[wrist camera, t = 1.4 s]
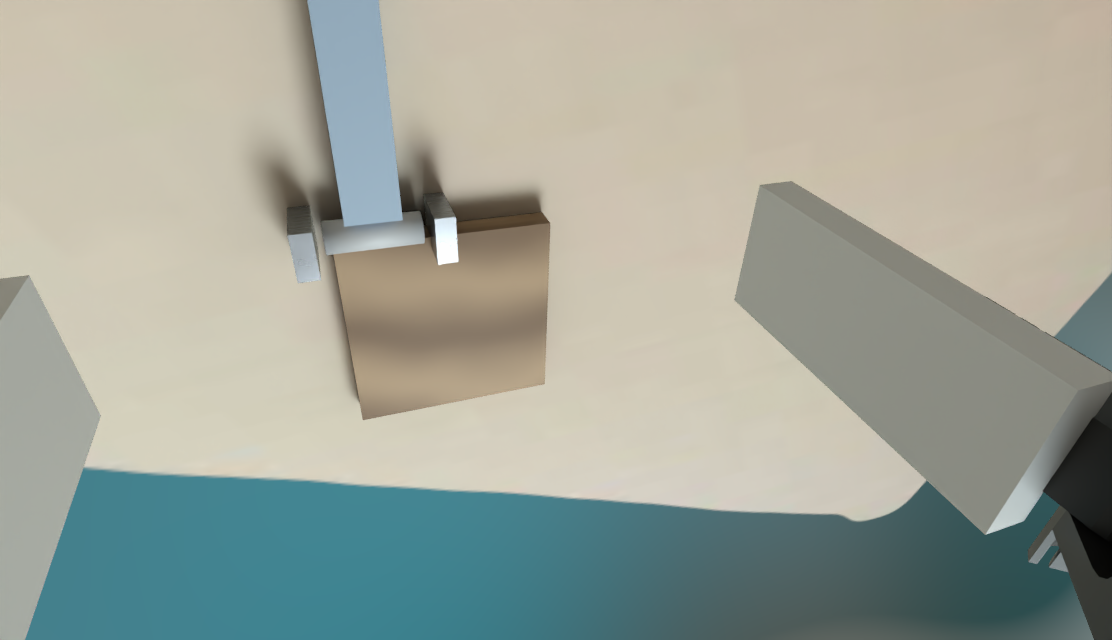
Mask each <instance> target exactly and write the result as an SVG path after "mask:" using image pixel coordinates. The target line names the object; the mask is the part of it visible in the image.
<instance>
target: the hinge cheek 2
mask: <svg viewBox="0 0 1112 640" xmlns="http://www.w3.org/2000/svg"><path fill="white" fill-rule="evenodd" d="M424 207H425V219H426V227H427V229H428V231H429V234H430V236H431V244H432V251H433V253H434V256H435V258H436V261H437V263H438V265H439V264H446V263H454V262H458V246H457V228H456V216H455V214H454V212H453V210H452V208H451V206H450V205H449V203H448V201H447V199H446V197H445V195H444V193H434V194H424Z"/></svg>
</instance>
